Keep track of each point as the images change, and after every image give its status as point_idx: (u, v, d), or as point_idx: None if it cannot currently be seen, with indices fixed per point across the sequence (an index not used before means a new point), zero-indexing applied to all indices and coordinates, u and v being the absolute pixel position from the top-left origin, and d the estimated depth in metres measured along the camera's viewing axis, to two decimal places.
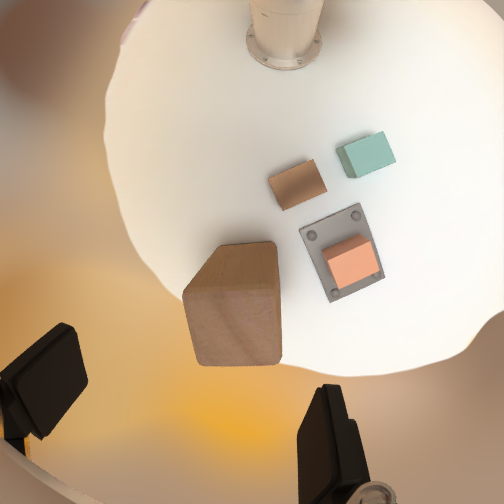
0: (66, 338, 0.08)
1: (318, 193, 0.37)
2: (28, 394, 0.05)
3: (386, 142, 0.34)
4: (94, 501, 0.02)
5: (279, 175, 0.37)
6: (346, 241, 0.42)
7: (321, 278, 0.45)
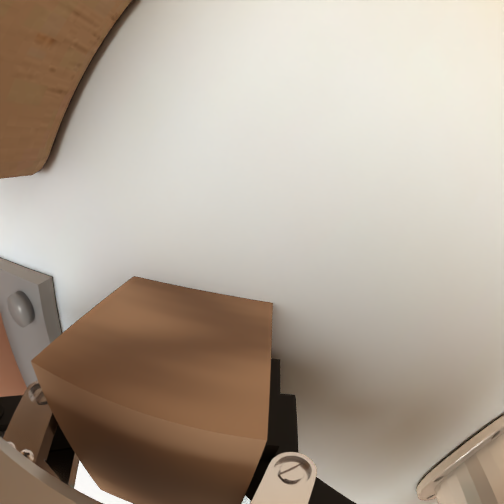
0: None
1: (96, 479, 0.05)
2: None
3: None
4: (94, 501, 0.02)
5: (240, 477, 0.04)
6: (6, 369, 0.10)
7: None
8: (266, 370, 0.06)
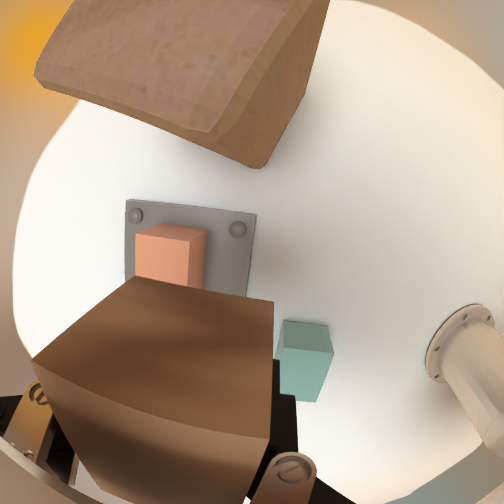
0: None
1: (96, 479, 0.05)
2: None
3: (300, 399, 0.26)
4: (94, 501, 0.02)
5: (242, 476, 0.04)
6: (201, 274, 0.27)
7: (166, 206, 0.27)
8: (268, 369, 0.06)
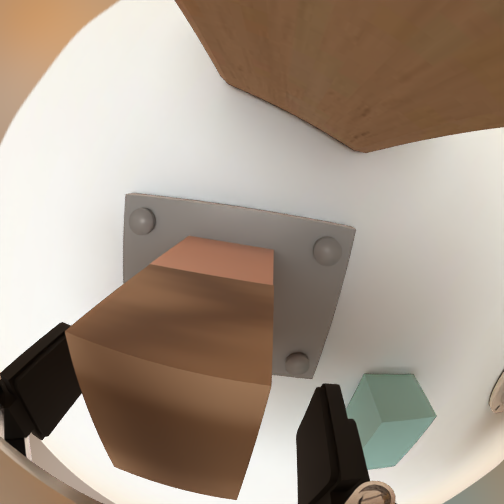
0: None
1: (111, 453, 0.07)
2: (29, 394, 0.05)
3: (378, 467, 0.15)
4: (94, 501, 0.02)
5: (249, 430, 0.06)
6: None
7: (200, 207, 0.15)
8: (269, 335, 0.07)
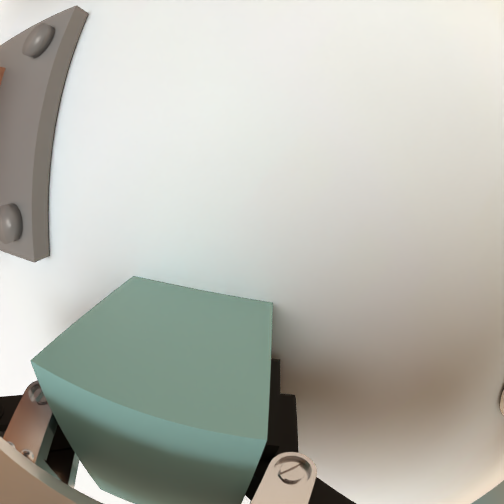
0: None
1: None
2: None
3: None
4: (94, 501, 0.02)
5: None
6: None
7: None
8: None
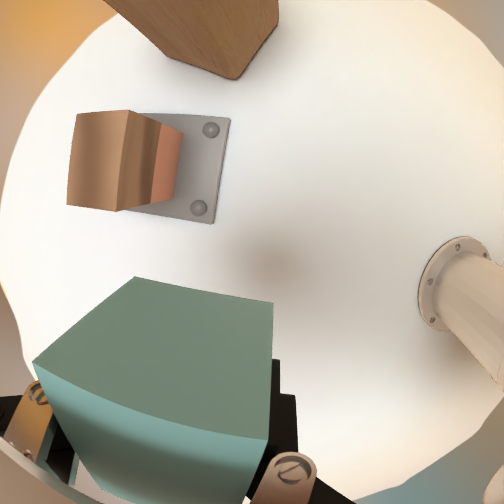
0: None
1: (69, 187, 0.17)
2: None
3: None
4: (94, 501, 0.02)
5: (121, 134, 0.15)
6: (172, 173, 0.26)
7: (148, 115, 0.25)
8: None
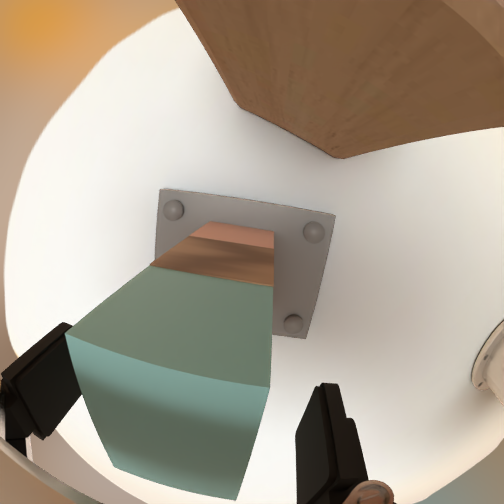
0: None
1: None
2: (30, 394, 0.05)
3: (189, 489, 0.07)
4: (94, 501, 0.02)
5: None
6: None
7: (219, 199, 0.21)
8: (271, 268, 0.12)
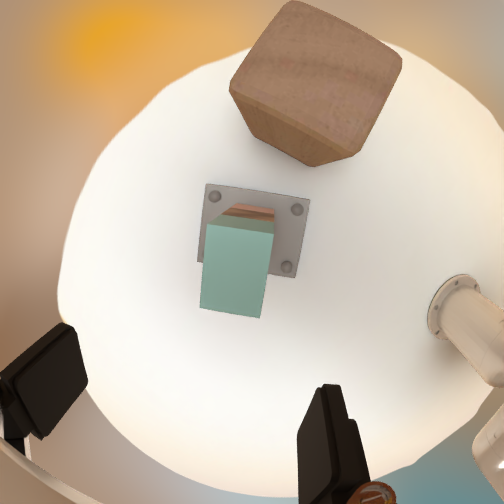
0: (66, 338, 0.08)
1: None
2: (28, 394, 0.05)
3: (238, 311, 0.22)
4: (94, 501, 0.02)
5: None
6: None
7: (242, 190, 0.36)
8: (273, 218, 0.27)
